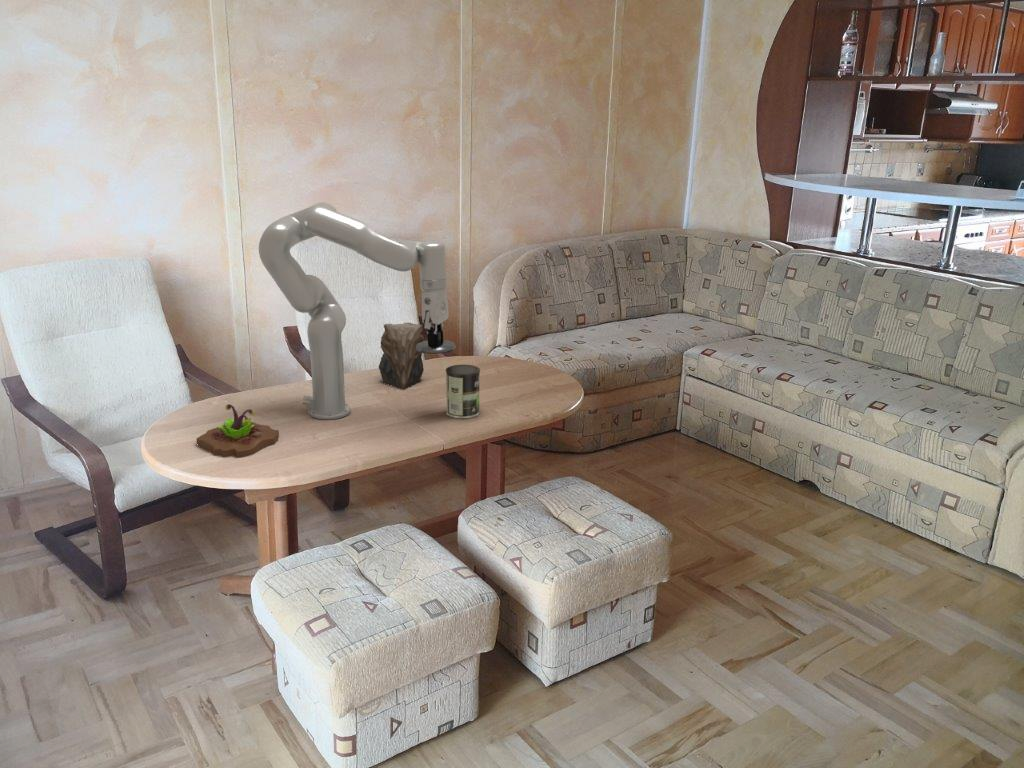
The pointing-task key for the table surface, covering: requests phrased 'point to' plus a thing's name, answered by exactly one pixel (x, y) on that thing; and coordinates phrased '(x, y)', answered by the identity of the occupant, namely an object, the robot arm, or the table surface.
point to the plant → (238, 437)
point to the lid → (442, 348)
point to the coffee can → (462, 391)
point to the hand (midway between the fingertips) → (435, 344)
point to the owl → (401, 355)
